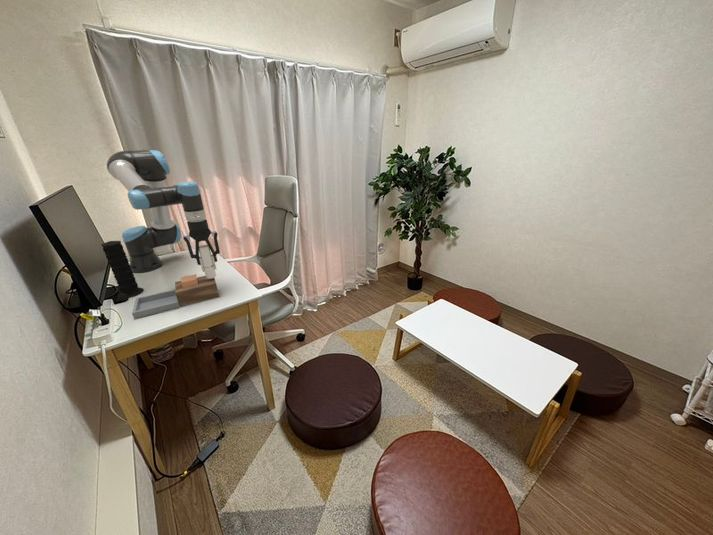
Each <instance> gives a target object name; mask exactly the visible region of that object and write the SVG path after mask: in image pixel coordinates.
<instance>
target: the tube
mask: <svg viewBox="0 0 713 535" xmlns="http://www.w3.org/2000/svg"><path fill="white" fill-rule="evenodd" d="M211 255H212V252H211V250H210V248H209V247H208V245H207V244H202V245H199V257H201V260H202V264H203V267H204V271H205V272H204V274H205V275H204V276H206V278H207V279H211V278H216V277H217V273H216V269H215V268H214V264H213V260H212V256H211Z"/></svg>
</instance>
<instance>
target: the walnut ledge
mask: <svg viewBox="0 0 713 535" xmlns="http://www.w3.org/2000/svg"><path fill="white" fill-rule="evenodd" d="M197 279H198V285H196V286H191V287H187V288H183V286H182V283H181V280H180V281H179V280H178V281H175V283H174V284H175V285H174V286H175V289H174V290H175V294H176V297H177V300H178V303H179V306H180V308H181V307H185V306H189V305H193V304H197V303H200V302H205V301H208V300H209V301H210V300H213V299H217V298H220V294H219V289H218V286H217V282H216V277H214V278H211V279H207V278H206V275H203V276H197Z"/></svg>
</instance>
